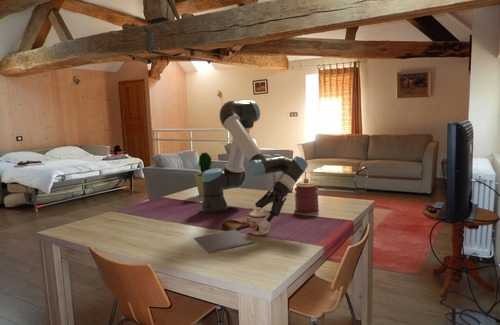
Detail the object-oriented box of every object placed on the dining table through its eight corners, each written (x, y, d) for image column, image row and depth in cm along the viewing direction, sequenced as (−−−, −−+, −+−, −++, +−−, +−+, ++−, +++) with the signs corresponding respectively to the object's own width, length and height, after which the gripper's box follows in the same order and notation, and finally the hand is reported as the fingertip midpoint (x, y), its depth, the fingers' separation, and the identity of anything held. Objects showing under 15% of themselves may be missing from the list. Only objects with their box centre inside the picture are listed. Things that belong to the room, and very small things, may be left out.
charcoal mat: (194, 238, 169) (194, 237, 169) (235, 230, 178) (235, 229, 178) (209, 253, 151) (209, 251, 151) (253, 243, 160) (253, 241, 160)
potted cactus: (209, 199, 245) (206, 153, 240) (191, 197, 253) (188, 152, 249) (223, 193, 257) (220, 150, 253) (206, 192, 266) (203, 150, 262)
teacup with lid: (246, 232, 174) (244, 208, 173) (261, 227, 180) (260, 204, 178) (262, 238, 165) (260, 212, 163) (277, 233, 170) (276, 208, 169)
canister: (311, 205, 216) (311, 175, 213) (323, 210, 204) (322, 178, 201) (291, 208, 212) (290, 177, 209) (301, 214, 200) (300, 181, 197)
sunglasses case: (232, 232, 176) (227, 218, 178) (225, 236, 181) (220, 223, 183) (261, 223, 187) (256, 211, 188) (254, 227, 192) (249, 215, 194)
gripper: (303, 194, 166) (274, 234, 161) (276, 186, 187) (250, 221, 183) (292, 184, 163) (262, 225, 158) (266, 177, 184) (239, 212, 180)
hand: (256, 223), depth 171 cm, fingers closed on teacup with lid, 12 cm apart
